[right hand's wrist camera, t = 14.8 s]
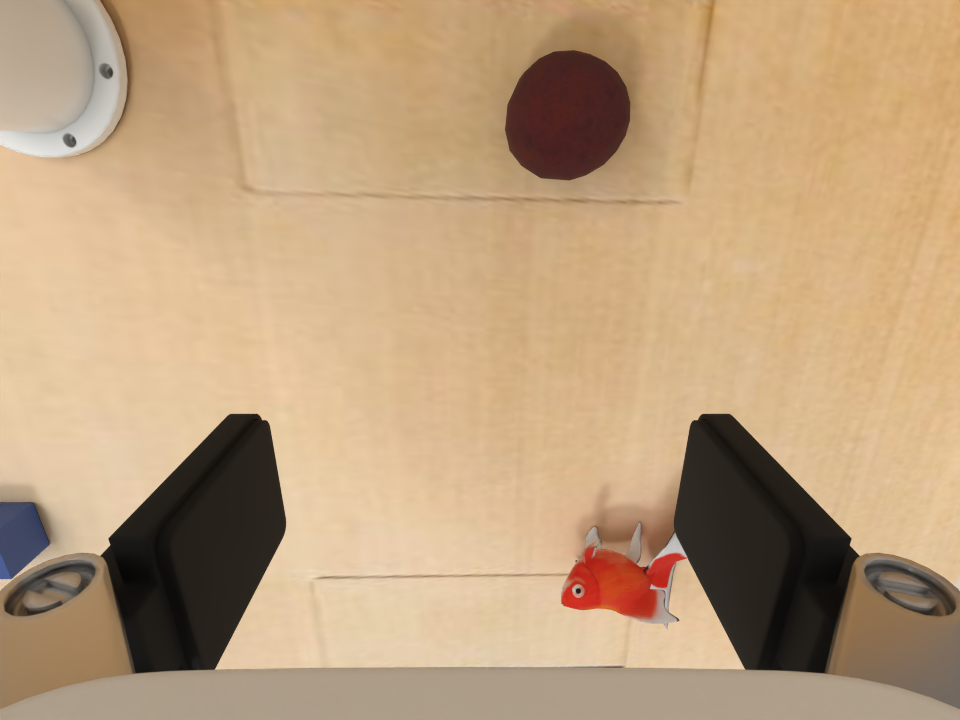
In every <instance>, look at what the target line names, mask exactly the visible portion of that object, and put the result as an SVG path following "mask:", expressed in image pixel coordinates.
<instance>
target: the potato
mask: <svg viewBox="0 0 960 720" xmlns="http://www.w3.org/2000/svg"><path fill="white" fill-rule="evenodd" d="M629 121H630V101H629V97H628V93H627V88H626V86H625V84H624V82H623V81H622V79H621V77H620V76H619V74H618V72H616V71H615V70H614V69H613V68H612V67H611V66H610V65H609V64H607V63H606V62H605V61H603V60H601V59H599V58H597V57H595V56H593V55H591V54H587V53H583V52H578V51H574V50H573V51H558V52H553V53H550V54H548V55H546V56H544V57H542V58H540V59H538V60H537V61H536V62H535V63H534V64H533V65H532V66H531V67H530V68H529V69H528V70H527V71H525V72H524V74H523V75H522V76H521V78H520V79H519V81H518V83H517V86H516V88H515V90H514V92H513V94H512V96H511V99H510V101H509V103H508V107H507V117H506V127H505V131H506V135H507V140H508V144H509V149H510V151H511V153H512V154H513V155H514V157H515V158H516V159H517V160H518V162H519V163H520V164H521V166H523V167H524V168H526V169H527V170H529V171H530V172H532V173H534V174H535V175H537V176H538V177H540V178H547V179H559V180H572V179H575V178H578V177H582V176H585V175H587V174H589V173H590V172H592V171H594V170H595V169H597V168H599V167H600V166H602V165H604V164H605V163H606V162H607V161H608V160H609V159H610V158H611V157H612V155H613V154H614V153H615V152H616V151H617V149H618V148H619V146H620V144H621V142H622V141H623V139H624V137H625V135H626V132H627V128H628V125H629Z"/></svg>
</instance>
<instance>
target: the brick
mask: <svg viewBox="0 0 960 720" xmlns="http://www.w3.org/2000/svg"><path fill="white" fill-rule="evenodd" d="M49 545H50V544H49V541H48V538H47V536H46V533H45V531H44V528H43V526H42V523H41V521H40V518H39V516H38V513H37V510H36V508H35V505H34V503H0V579H12V578H13V577H14V576H15V575H16V574H18V573H19V572H20V571H21V570H22V569H23V568H24V567H25V566H26V565H28V564H29V563H30V562H31V561H32V560H33V559H34V558H35V557H36V556H38V555H39V554H40V553H41V552H42V551H43V550H44V549H45V548H46V547H47V546H49Z"/></svg>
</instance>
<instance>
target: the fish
mask: <svg viewBox="0 0 960 720" xmlns="http://www.w3.org/2000/svg"><path fill="white" fill-rule="evenodd" d="M601 539H602V538H601ZM601 539H600V538H599V535H598V531H597V528H596V527H593V528H592V529H591V530H590V532H589V533H588V535H587V537H586V539H585V546H586V549H585V552H584V556H583V557H581V558H580V559H579V560H578V561H577V560H576V564H575V565H574V567H573V568H572V570H571V571H570V573H569V575H568V577H567V579H566V581H565V583H564V586H563V588H562V593H561V603H562V604H563V606H566V607H570V608H574V609H578V610H589V609H596V608H600V609H610V610H613V611H616V612H618V613H620V614H622V615H624V616H627V617H629V618H632V619H635V620H638V621H641V622H646V623H651V624H657V623H663V624H664V625H665V627H666V628H667V629H668V623H670V622H677V621H679V619H678V618H677V617H675V616H673V615H672V614H670V613H669V599H670V592H671V585H672V578H673V572H674V568H675V565H676V561H679V560H683V559H686V558H687V556H686V554H685V552H684V550H683V548H682V546H681V544H680V542H679V540H678V538H677V536H676V533H675V532H674V533H673V535H672V536H671V538H670V540H669V541H668V543H667V545H666V547H665V548H664V549H663V550H662V551H661V552H660V553H659V554H658V555H657V556H656V558H655V559H654V560H653V561H652V562H651V563H650V564H649V565H648V566H647V567H639V566H638V565H637V564H636V563H638V561H639V560H640V557H641V523H639V524H638V526H637V528H636V530H635V533H634V535H633V537H632V540H631V544H630V548H629V550H628V552H627V554H626V555H625V556H624V555H622V554H619V553H617V552H614V551H611V550H605V549H601V547H602V543H601Z"/></svg>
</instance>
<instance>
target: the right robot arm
mask: <svg viewBox="0 0 960 720" xmlns="http://www.w3.org/2000/svg"><path fill="white" fill-rule="evenodd" d="M112 70H113V74H112ZM127 83H128V79H127V68H126V60H125V56H124V52H123V48H122V45H121V41H120V38H119V36H118V33H117V31H116V29H115V26H114V24H113V22H112V20H111V18H110V16H109V14H108V13H107V11H106V9H105V8H104V6H103V5H102V3H101V1H100V0H0V145H2V146H3V147H6V148H8V149H11V150H14V151H16V152H19V153H21V154H26V155H31V156H36V157H43V158H61V157H71V156H76V155H79V154H82V153H85V152H88V151H90V150H92V149H93V148H95V147H96V146H98V145H100V144H101V143H103V142H104V140H105V139H106V138H107V137H108V136H109V135H110V134H111V133H112V132H113V131H114V129H115V127H116V125H117V123H118V122H119V120H120V118H121V116H122V112H123V109H124V105H125V102H126V96H127ZM285 529H286V517H285V511H284V505H283V499H282V494H281V488H280V482H279V476H278V470H277V465H276V459H275V453H274V447H273V441H272V436H271V430H270V425H269V423H268V421H266V420H262V419H261V417H260V416H259V415H258V414H230V415H228V416H227V417H226V418H225V419H224V420H223V421H222V422H221V423H220V424H219V425H218V426H217V427H216V428H215V429H214V430H213V431H212V432H211V433H210V435H209V436H208V437H207V438H206V439H205V440H204V441H203V442H202V443H201V444H200V445H199V446H198V447H197V448H196V449H195V450H194V451H193V452H192V453H191V454H190V455H189V456H188V457H187V458H186V459H185V460H184V461H183V462H182V463H181V464H180V465H179V466H178V467H177V468H176V470H175V471H174V472H173V473H172V474H171V475H170V476H169V477H168V478H167V479H166V480H165V481H164V482H163V483H162V484H161V485H160V486H159V487H158V488H157V489H156V490H155V491H154V492H153V493H152V494H151V495H150V496H149V497H148V498H147V499H146V500H145V501H144V502H143V503H142V505H141V506H140V507H139V508H138V509H137V510H136V511H135V512H134V513H133V514H132V515H131V516H130V517H129V518H128V519H127V520H126V521H125V522H124V523H123V524H122V525H121V526H120V527H119V528H118V529H117V530H116V531H115V532H114V533H113V534H112V535H111V536H110V537H109V538H108V539H109V542H110V546H109V547H108V548H107V550H106V551H105V552H104V553H103V554H102V555H101V556H98V555H96V554H91V553H77V554H70V555H65V556H62V557H58V558H55V559H52V560H49V561H46V562H44V563H42V564H40V565H37V566H35V567H33V568H31V569H29V570H28V571H26V572H24V573H23V574H21V575H19V576H18V577H16V578H15V579H14V580H12V581H11V582H10V583H9V584H7V585H6V586H5V587H4V588H3V589H2V590H1V591H0V720H960V591H959V590H958V589H957V588H956V587H955V586H954V585H953V584H951V583H950V582H949V581H948V580H946V579H945V578H944V577H942V576H941V575H939V574H937V573H936V572H934V571H932V570H931V569H929V568H927V567H925V566H923V565H920V564H918V563H916V562H914V561H911V560H908V559H905V558H902V557H898V556H895V555H890V554H883V553H869V554H864V555H862V556H859V555H858V554H857V553H856V552H855V551H854V550H853V548H852V547H851V546H850V542H851V539H852V538H851V537H850V536H849V535H848V534H847V533H846V532H845V531H844V530H843V529H842V528H841V527H840V526H839V525H838V524H837V523H836V522H835V521H834V520H833V519H832V518H831V517H830V516H829V515H828V514H827V513H826V512H825V511H824V510H823V509H822V508H821V507H820V506H819V505H818V503H817V502H816V501H815V500H814V499H813V498H812V497H811V496H810V495H809V494H808V493H807V492H806V491H805V490H804V489H803V488H802V487H801V486H800V485H799V484H798V483H797V482H796V481H795V480H794V479H793V478H792V477H791V476H790V475H789V474H788V473H787V472H786V471H785V470H784V468H783V467H782V466H781V465H780V464H779V463H778V462H777V461H776V460H775V459H774V458H773V457H772V456H771V455H770V454H769V453H768V452H767V451H766V450H765V449H764V448H763V447H762V446H761V445H760V444H759V443H758V442H757V441H756V440H755V439H754V438H753V437H752V436H751V435H750V434H749V432H748V431H747V430H746V429H745V428H744V427H743V426H742V425H741V424H740V423H739V422H738V421H737V420H736V419H735V418H734V417H733V416H732V415H730V414H702V415H701V416H700V417H699V419H698V420H694V421H692V423H691V425H690V430H689V436H688V441H687V447H686V453H685V459H684V465H683V470H682V476H681V482H680V488H679V494H678V499H677V505H676V511H675V517H674V529H675V533H676V536H677V538H678V540H679V542H680V544H681V546H682V548H683V550H684V552H685V554H686V556H687V558H688V560H689V562H690V564H691V566H692V567H693V569H694V571H695V573H696V575H697V577H698V579H699V581H700V583H701V585H702V587H703V589H704V591H705V593H706V595H707V596H708V598H709V600H710V602H711V604H712V606H713V608H714V610H715V612H716V614H717V616H718V618H719V620H720V622H721V624H722V626H723V627H724V629H725V631H726V633H727V635H728V637H729V639H730V641H731V643H732V645H733V647H734V649H735V651H736V653H737V655H738V656H739V658H740V660H741V662H742V664H743V666H744V668H745V670H734V669H676V668H540V667H420V668H284V669H226V670H215V668H216V666H217V664H218V662H219V660H220V658H221V656H222V655H223V653H224V651H225V649H226V647H227V645H228V643H229V641H230V639H231V637H232V635H233V633H234V631H235V629H236V627H237V626H238V624H239V622H240V620H241V618H242V616H243V614H244V612H245V610H246V608H247V606H248V604H249V602H250V600H251V598H252V596H253V595H254V593H255V591H256V589H257V587H258V585H259V583H260V581H261V579H262V577H263V575H264V573H265V571H266V569H267V567H268V566H269V564H270V562H271V560H272V558H273V556H274V554H275V552H276V550H277V548H278V546H279V544H280V542H281V540H282V538H283V536H284V533H285Z"/></svg>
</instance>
